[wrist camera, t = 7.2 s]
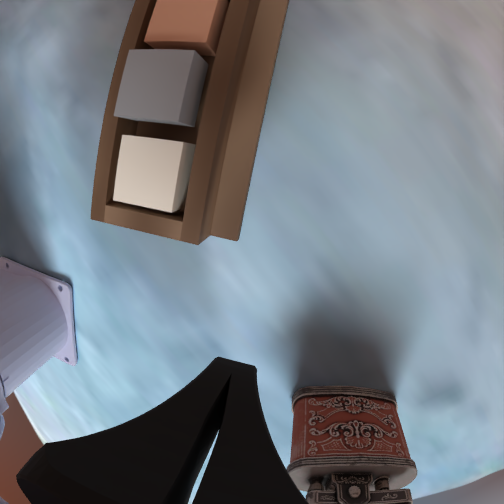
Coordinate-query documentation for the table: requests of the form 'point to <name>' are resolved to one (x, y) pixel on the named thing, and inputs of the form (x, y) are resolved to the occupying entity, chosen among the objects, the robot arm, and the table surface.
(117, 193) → the key cream
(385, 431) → the lighter
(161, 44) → the key terracotta
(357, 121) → the table surface
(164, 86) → the key slate
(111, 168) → the keypad board
